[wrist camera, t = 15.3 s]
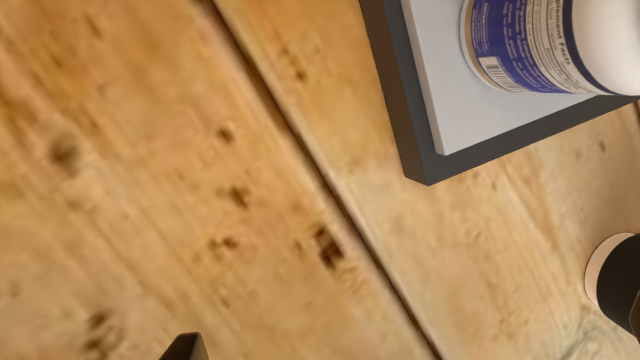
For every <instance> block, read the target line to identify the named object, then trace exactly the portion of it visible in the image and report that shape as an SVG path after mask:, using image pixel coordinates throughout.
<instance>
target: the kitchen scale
mask: <svg viewBox="0 0 640 360" xmlns="http://www.w3.org/2000/svg"><path fill="white" fill-rule="evenodd" d="M359 1H360V5H361V9H362V12H363V16H364V20H365V24H366V28H367V32H368V35H369V39H370V43H371V47H372V51H373V55H374V59H375V62H376V66H377V70H378V74H379V78H380V82H381V85H382V89H383V93H384V97H385V101H386V105H387V108H388V112H389V116H390V120H391V124H392V128H393V131H394V135H395V139H396V143H397V147H398V151H399V154H400V158H401V162H402V166H403V170H404V174H405V177H407V178H409V179H412V180H414V181H416V182H419V183H421V184H424V185H426V186H431V185H433V184H435V183H438V182H440V181H443V180H445V179H448V178H450V177H452V176H455V175H457V174H460V173H462V172H465V171H467V170H469V169H472V168H474V167H477V166H479V165H482V164H484V163H486V162H489V161H491V160H494V159H496V158H499V157H501V156H503V155H506V154H508V153H511V152H513V151H516V150H518V149H520V148H523V147H525V146H528V145H530V144H533V143H535V142H537V141H540V140H542V139H545V138H547V137H550V136H552V135H554V134H557V133H559V132H562V131H564V130H567V129H569V128H571V127H574V126H576V125H579V124H581V123H584V122H586V121H588V120H591V119H593V118H596V117H598V116H601V115H603V114H605V113H608V112H610V111H613V110H615V109H618V108H620V107H622V106H625V105H627V104H630V103H632V102H635V101H637V100H639V99H640V95H632V96H619V95H596V94H567V93H515V92H505V91H500V90H497V89H495V88H492V87H491V86H489V85H487V84H486V83H484V82H483V81H482V80H481V79H479V78H478V77H477V75H476V74H475V73H474V72H473V71H472V69H471V68H470V66H469V64H468V63H467V60H466V58H465V56H464V53H463V50H462V46H461V40H460V17H461V11H462V7H463V4H464V1H465V0H359Z"/></svg>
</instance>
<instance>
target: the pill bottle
mask: <svg viewBox="0 0 640 360" xmlns="http://www.w3.org/2000/svg"><path fill="white" fill-rule="evenodd" d="M460 40H461V46H462V50H463V53H464V56H465V58H466V60H467V63H468V64H469V66H470V68H471V69H472V71H473V72H474V73H475V74H476V75H477V77H478V78H479V79H481V80H482V81H483V82H484V83H486V84H487V85H489V86H491V87H492V88H495V89H497V90H500V91H505V92H515V93H567V94H596V95H619V96H632V95H640V0H465V1H464V4H463V7H462V11H461V17H460Z"/></svg>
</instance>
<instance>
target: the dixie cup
mask: <svg viewBox="0 0 640 360" xmlns="http://www.w3.org/2000/svg"><path fill="white" fill-rule="evenodd" d="M585 290H586V293H587V295H588V297H589V299H590V300H591V301H592V302H593V303H594V304H595V305H597V306H598V307H599V308H600V309H601V311H602V312H603V314H604V315H605V316H606V317H608V318H609V319H610V320H612V321H613V322H615V323H616V324H617V325H619V326H620V327H622V328H623V329H625V330H626V331H628V332H629V333H630V334H632V335H633V336H635V334H634V332H633V330H632V328H631V326H630V322H629V315H630V312H631V309H632V307H633V304H634V302H635V299H636V297H637V294H638V292H639V291H640V234H632V233H619V234H615V235H613V236H611V237H609V238H608V239H606V240H605V241H604V242H603V243H601V244H600V245H599V247H598V248H597V249H596V250H595V252H594V253H593V255H592V256H591V258H590V260H589V263H588V265H587V268H586V272H585ZM635 337H636V336H635Z"/></svg>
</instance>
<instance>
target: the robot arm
mask: <svg viewBox="0 0 640 360" xmlns="http://www.w3.org/2000/svg"><path fill="white" fill-rule="evenodd" d="M629 322H630V326H631V328H632V330H633V332H634V334H635V336H636V338H637V340H638V342H639V344H640V291H639V292H638V294H637V297H636V299H635V302H634V304H633V307H632V309H631V312H630V315H629ZM159 360H209V357H208V354H207V351H206V348H205V345H204V342H203V339H202V336H201V334H200V333H199V332H190V333H182V334H180V335H178V336H177V337H176V338H175V340H174V341H173V342H172V343H171V345H170V346H169V347H168V349H167V350H166V351H165V352H164V354H163V355H162V356H161V358H160V359H159Z"/></svg>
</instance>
